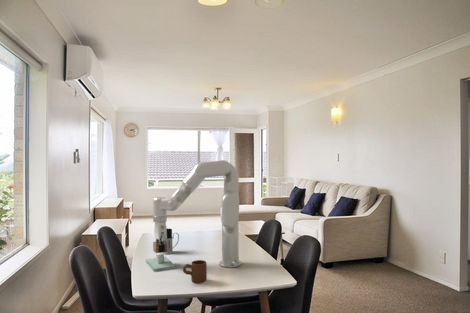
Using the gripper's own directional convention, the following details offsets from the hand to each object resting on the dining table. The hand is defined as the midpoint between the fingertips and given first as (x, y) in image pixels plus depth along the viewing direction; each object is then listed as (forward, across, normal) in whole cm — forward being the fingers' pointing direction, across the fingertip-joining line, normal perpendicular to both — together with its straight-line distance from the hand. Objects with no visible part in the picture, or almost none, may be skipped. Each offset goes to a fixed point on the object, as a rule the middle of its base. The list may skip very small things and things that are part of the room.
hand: (160, 250), depth 202 cm
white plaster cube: (+7, 0, 0) cm, 7 cm away
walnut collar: (+1, 0, 0) cm, 1 cm away
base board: (+9, 0, 0) cm, 9 cm away
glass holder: (+9, +22, -12) cm, 27 cm away
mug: (+9, -35, -8) cm, 37 cm away
